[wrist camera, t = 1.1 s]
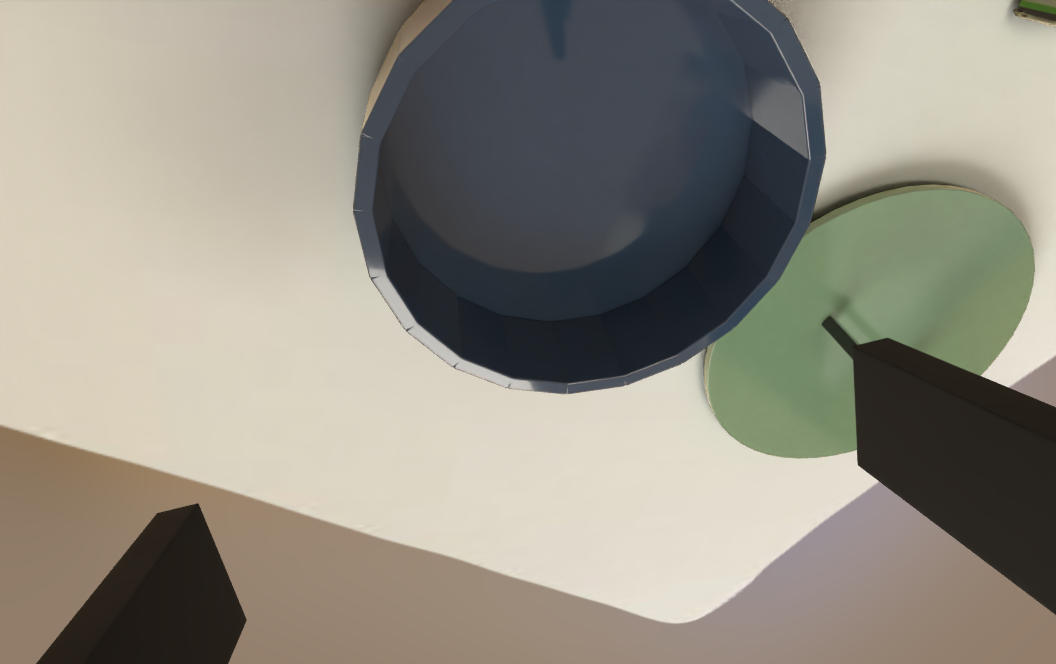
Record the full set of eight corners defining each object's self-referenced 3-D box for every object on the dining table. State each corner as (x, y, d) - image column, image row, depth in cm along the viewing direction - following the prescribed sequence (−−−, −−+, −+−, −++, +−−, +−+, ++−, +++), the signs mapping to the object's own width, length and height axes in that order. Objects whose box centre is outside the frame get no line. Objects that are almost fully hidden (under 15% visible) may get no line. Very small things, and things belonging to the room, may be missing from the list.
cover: (885, 108, 29) (1037, 183, 22) (1078, 273, 36) (1235, 367, 29) (635, 390, 37) (686, 509, 30) (836, 475, 45) (914, 585, 38)
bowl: (501, -192, 20) (524, -212, 16) (840, 90, 28) (919, 130, 23) (301, 236, 28) (280, 302, 24) (607, 368, 36) (634, 437, 31)
